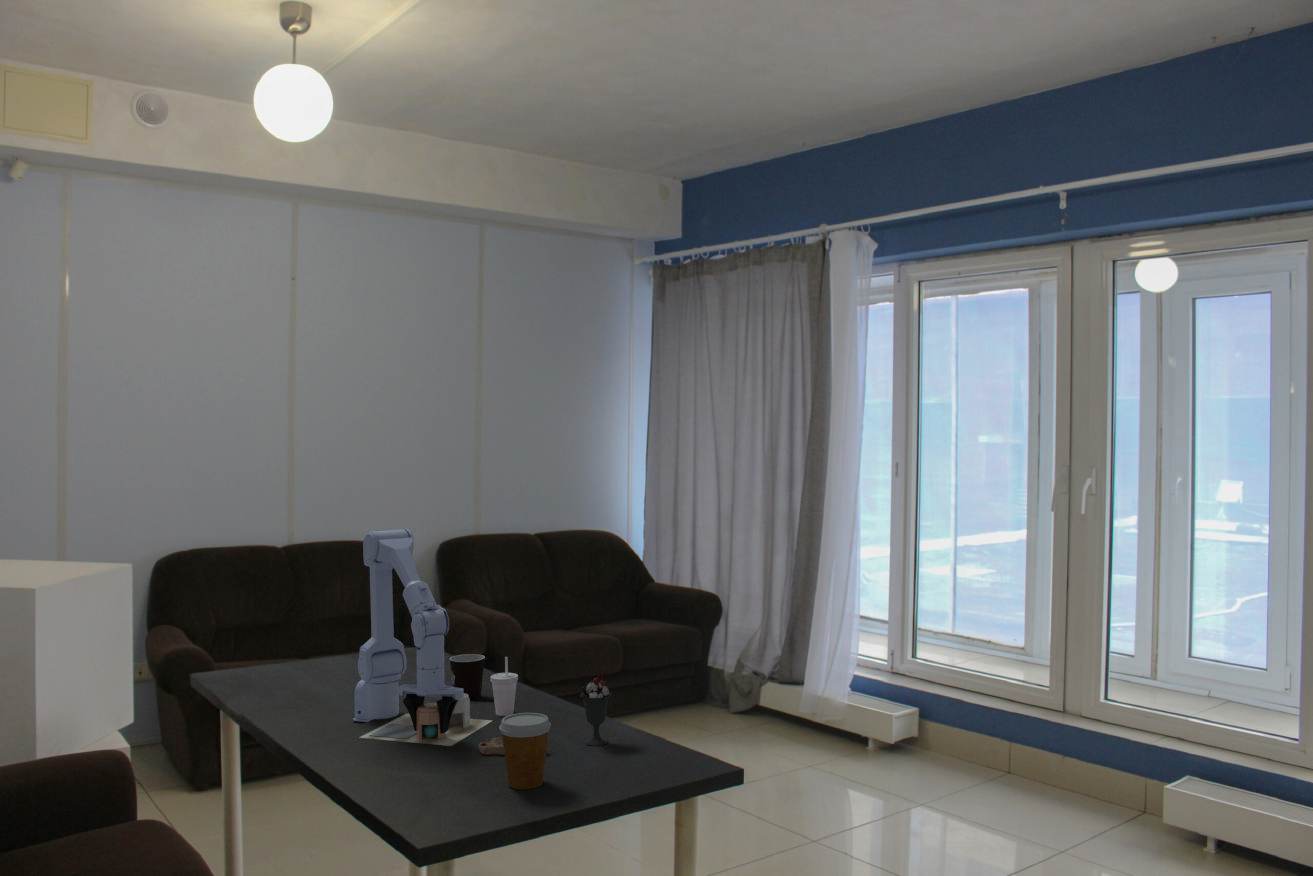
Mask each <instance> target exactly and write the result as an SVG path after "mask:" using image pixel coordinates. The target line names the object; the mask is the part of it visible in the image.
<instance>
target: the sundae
mask: <svg viewBox="0 0 1313 876" xmlns="http://www.w3.org/2000/svg"><path fill="white" fill-rule="evenodd" d="M604 672H606V670H605V669H602V670H601V672H600V674H599V675H598V676H597V677H595V678H593V680H592V681H589V683H588V684H587V685H586V688H584V686H582V687H581V691H582V692H581V693H580V694H579V698H580V699H582V700H583V704H584V712H585V718H586V721H587V722H588V723H589V724H590V725H591V726H592V727H593V728H592V729H593V734H592V736H591V738H589V739H588V738H587V739H586V740H584V744H585V745H587V746H590V747H600V746H604V745H607V744H608V743H609V740H608V739H606V738H603V737H601V735H600V726H601V725H603V723H604V722H605V721H606V718H607V711H608V704H609V698H610V697H611V696H612V693H610V691H609V688H608V687H607V686H606V681H605V680H604V678H603V677H604V676H603V674H604ZM599 677H601V680H600V679H599Z"/></svg>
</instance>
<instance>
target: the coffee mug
mask: <svg viewBox="0 0 1313 876" xmlns="http://www.w3.org/2000/svg"><path fill="white" fill-rule="evenodd" d="M485 658H486V657H485V655H482V654H478V653H477V654H474V653H473V654H471V653H467V654H459V655H453V656H451V657H450V658H449V665H450V673H451V681H452V682H451V683H452V687H455V688H463V689H464V693H466V694H468V697H469V698H470V702H475V701H478V700H480V699H481V698H482V689H483V678H484V668H485V660H486V659H485ZM477 699H478V700H477ZM474 700H475V701H474Z"/></svg>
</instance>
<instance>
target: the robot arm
mask: <svg viewBox="0 0 1313 876" xmlns="http://www.w3.org/2000/svg"><path fill="white" fill-rule="evenodd" d="M414 541H415V540H414V535H413V534H412V531H410V529H408V528H403V529H391V530H390V529H387V530H375V531H374V530H369V531H368V532H367V533H366V534H365V537H364V538H363V542H362V545H363V546H362V550H363V556H362V557H363V564H364V566H365V567H369V586H370V587H369V590H370V594H369V595H370V624H371V626H370V627H371V632H370V633H371V634H370V635H371V637H370V638H369V639H368V640H367V641H366V642H365V643H364V644H362V645H361V646H360V647H359V653H358V660H357V673H358V675H359V677H360V678H361V679H360V680H359V681H358V683H356V686H355V689H354V718H352V721H353V722H361V723H362V722H363V723H368V722H370V721H372V720H385V719H390V718H394V717H397V716H398V715H399V714H400V699H399V698H400V696H402V697H403V696H405V698H403V699H402V703H403V704H404V707H405V708H406V710H407V712H408V714H410V717H411V719H412V723H413V727H414V731H417V718H416V710H417V709H418V706H419V705H422V704H425V703H424V702H425V698H426V697H429V698H430V697H431V698H441V699H439V700H437V701H436V703H437V706H438V710H439V717H440V733H445V732H447V731H448V727H449V722H450V719H451V715H452V713H453V710H454V708H455V706H456V704H457V702H458V700H460V699H462V698H463V697H464V689H463V688H455V687H453V686H450V685H445V636H447V634H448V633H449V629H450V618H449V615H448V612H447V610H446V609H445V608H444V607H442V606H441V605H440V604H437V602H436V600H435V598H434V595H433V594H432V593H433V592H432V591H431V589H430V587H429V584H428V583H427V582H425V581H421V579H420V575H419V572H418V569H417V566H416V563H415V560H414V557H413V553H414V547H415V544H414V543H415V542H414ZM393 569H394V571H395V572H396V574H397V576H398V577H399V580H400V581H401V584H402V585H403V587H404V589H403V592H402V597H403V599H404V601H405V604H406V606H407V609H408V611H409V614H410V616H411V618H412V620H411V623H410V628H411V632H412V633H411V634H412V636H413V643H414V646H415V647H416V684H413V683H412V684H405V683H404V684H401V685H399V680H402V676H403V675H404V673H405V672H406V670H407V667H408V665H407V662H408V660H407V656H406V653H405V645H404V644H403V642H401V641H400V640H399V639H397V638H396V637H395V635H394V634H395V632H394V630H395V629H394V628H395V627H394V602H393V601H394V599H393V597H394V596H393V595H394V593H393V591H394V590H393Z"/></svg>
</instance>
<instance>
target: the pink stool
mask: <svg viewBox="0 0 1313 876" xmlns="http://www.w3.org/2000/svg"><path fill="white" fill-rule="evenodd" d="M416 718H417V739H418V740H419V741H422V736H424V735H425V734H424V728H425V726H426V725H433V724H436V725H437V727H438V733H437V734H438V740H441V739H443V738H445V737H446V732H445V733H440V717H439V710H438V706H437V702H427V703H424V704H422V705H419V706H418V709H417V710H416Z"/></svg>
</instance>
